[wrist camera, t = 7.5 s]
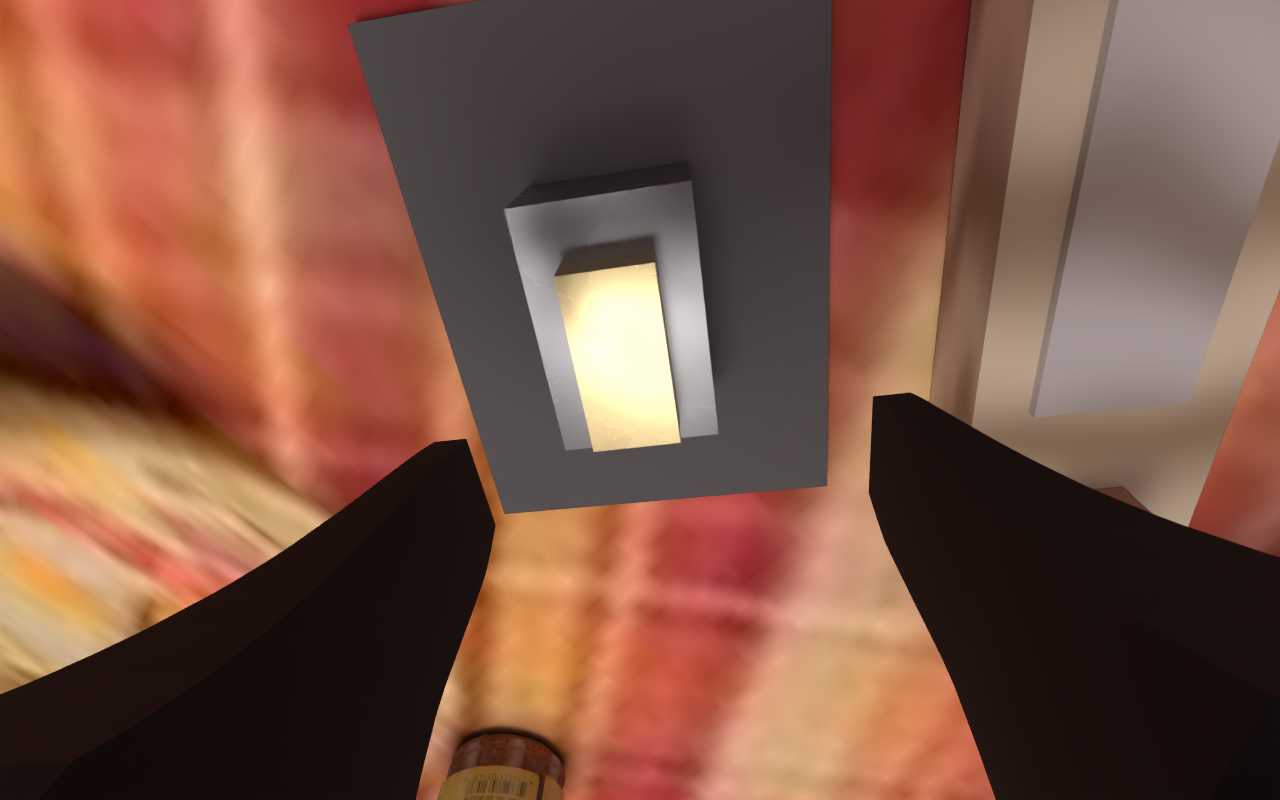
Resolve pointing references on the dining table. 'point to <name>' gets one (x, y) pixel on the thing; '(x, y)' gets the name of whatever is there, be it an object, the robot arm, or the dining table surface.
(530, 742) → the sauce bottle
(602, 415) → the lever cap
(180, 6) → the dining table surface
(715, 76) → the rubber mat
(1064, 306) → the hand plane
